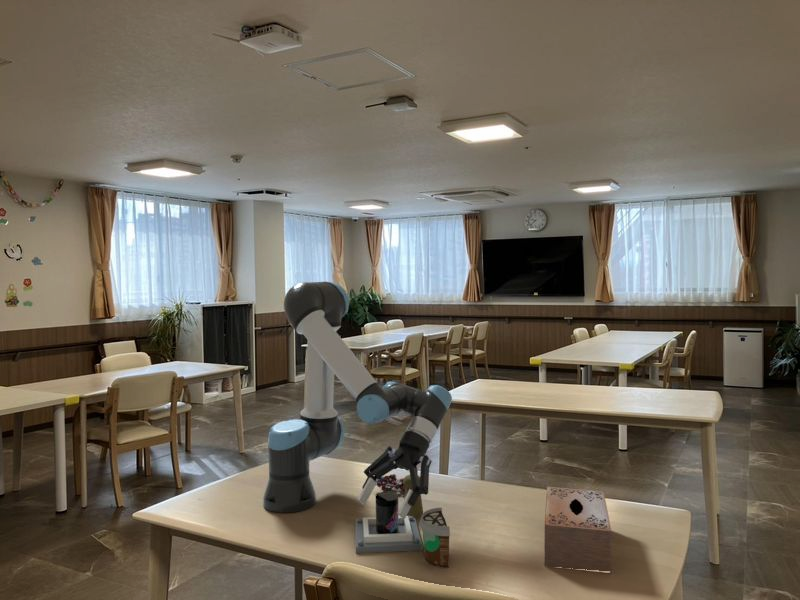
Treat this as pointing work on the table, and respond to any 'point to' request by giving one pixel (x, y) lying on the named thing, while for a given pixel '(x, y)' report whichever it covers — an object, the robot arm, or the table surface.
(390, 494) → the supplement container
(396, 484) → the toy collection
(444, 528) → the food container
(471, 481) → the table surface
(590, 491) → the tissue box cover
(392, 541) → the base plate
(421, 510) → the cork
